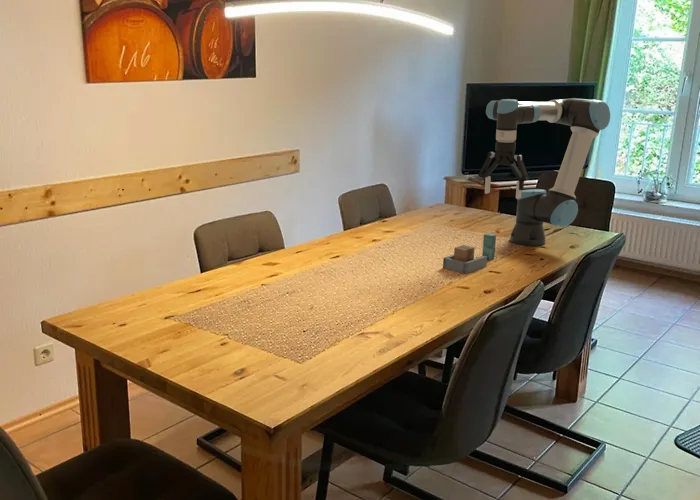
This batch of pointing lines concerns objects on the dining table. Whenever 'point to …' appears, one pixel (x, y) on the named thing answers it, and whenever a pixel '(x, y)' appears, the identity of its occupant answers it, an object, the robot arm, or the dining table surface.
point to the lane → (464, 264)
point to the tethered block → (467, 252)
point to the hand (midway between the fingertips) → (502, 195)
